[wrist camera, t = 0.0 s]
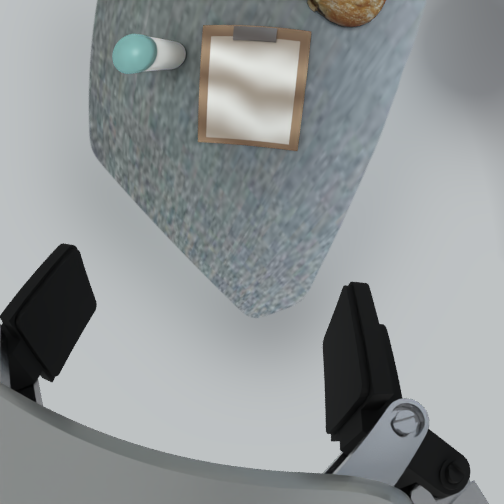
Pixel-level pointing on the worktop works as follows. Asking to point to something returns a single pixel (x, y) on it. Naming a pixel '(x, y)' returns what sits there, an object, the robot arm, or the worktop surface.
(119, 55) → the white teal cylinder
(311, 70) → the worktop surface
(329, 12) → the bread roll
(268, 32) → the clipboard
